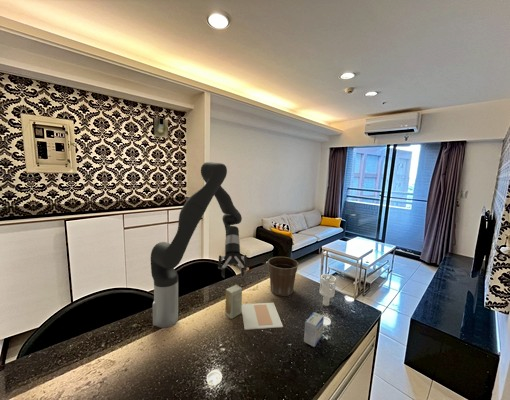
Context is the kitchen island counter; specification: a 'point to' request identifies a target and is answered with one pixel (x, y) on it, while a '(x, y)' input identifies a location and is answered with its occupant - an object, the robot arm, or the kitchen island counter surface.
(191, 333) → the kitchen island counter surface
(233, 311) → the skincare box
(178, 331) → the kitchen island counter surface
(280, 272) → the plant pot
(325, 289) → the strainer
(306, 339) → the medicine box
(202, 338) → the kitchen island counter surface
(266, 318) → the mat
